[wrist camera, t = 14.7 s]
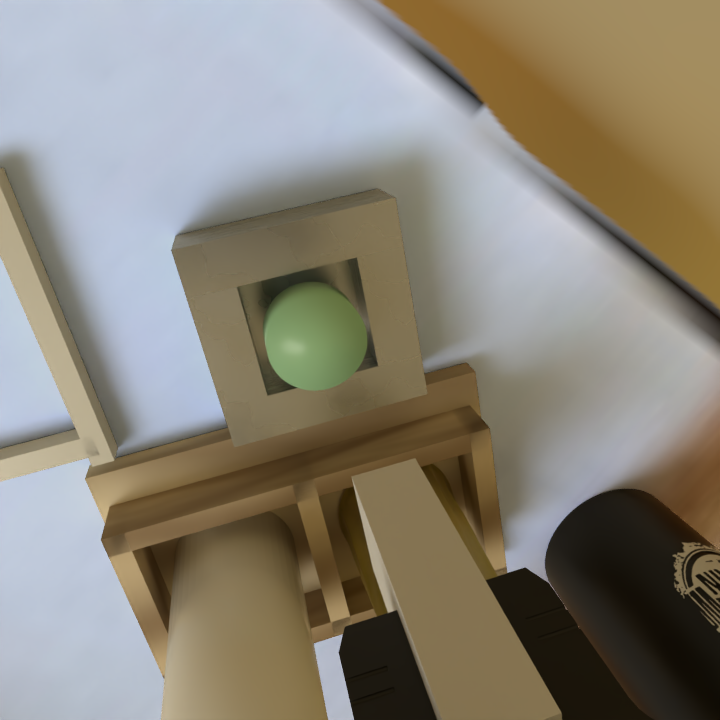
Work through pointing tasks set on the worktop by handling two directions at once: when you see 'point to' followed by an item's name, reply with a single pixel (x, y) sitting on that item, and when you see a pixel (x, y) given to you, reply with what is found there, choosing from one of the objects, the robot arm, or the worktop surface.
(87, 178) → the worktop surface
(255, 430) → the square block with hole
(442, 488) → the vase
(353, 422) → the wooden divided tray
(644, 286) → the worktop surface
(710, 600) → the water bottle
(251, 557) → the cream rounded cylinder
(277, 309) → the button
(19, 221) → the rim
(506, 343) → the worktop surface
